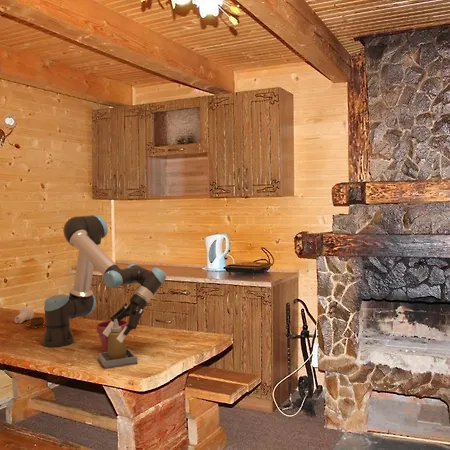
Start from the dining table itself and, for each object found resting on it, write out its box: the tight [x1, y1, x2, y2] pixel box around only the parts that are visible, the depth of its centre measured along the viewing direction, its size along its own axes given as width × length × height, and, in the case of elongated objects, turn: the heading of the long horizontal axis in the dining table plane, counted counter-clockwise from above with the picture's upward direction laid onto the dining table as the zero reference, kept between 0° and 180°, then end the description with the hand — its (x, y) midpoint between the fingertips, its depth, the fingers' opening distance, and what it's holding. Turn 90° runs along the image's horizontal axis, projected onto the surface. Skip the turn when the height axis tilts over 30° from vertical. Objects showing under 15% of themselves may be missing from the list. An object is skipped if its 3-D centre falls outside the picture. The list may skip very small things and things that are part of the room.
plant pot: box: [96, 319, 128, 352], centre depth 249 cm, size 14×14×13 cm
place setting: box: [25, 316, 45, 329], centre depth 300 cm, size 18×20×6 cm
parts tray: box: [97, 348, 138, 370], centre depth 231 cm, size 14×14×3 cm
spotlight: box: [13, 306, 35, 324], centre depth 313 cm, size 8×11×8 cm
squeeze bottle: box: [108, 319, 127, 360], centre depth 231 cm, size 8×8×18 cm
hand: (111, 337), depth 229 cm, fingers open, 13 cm apart
